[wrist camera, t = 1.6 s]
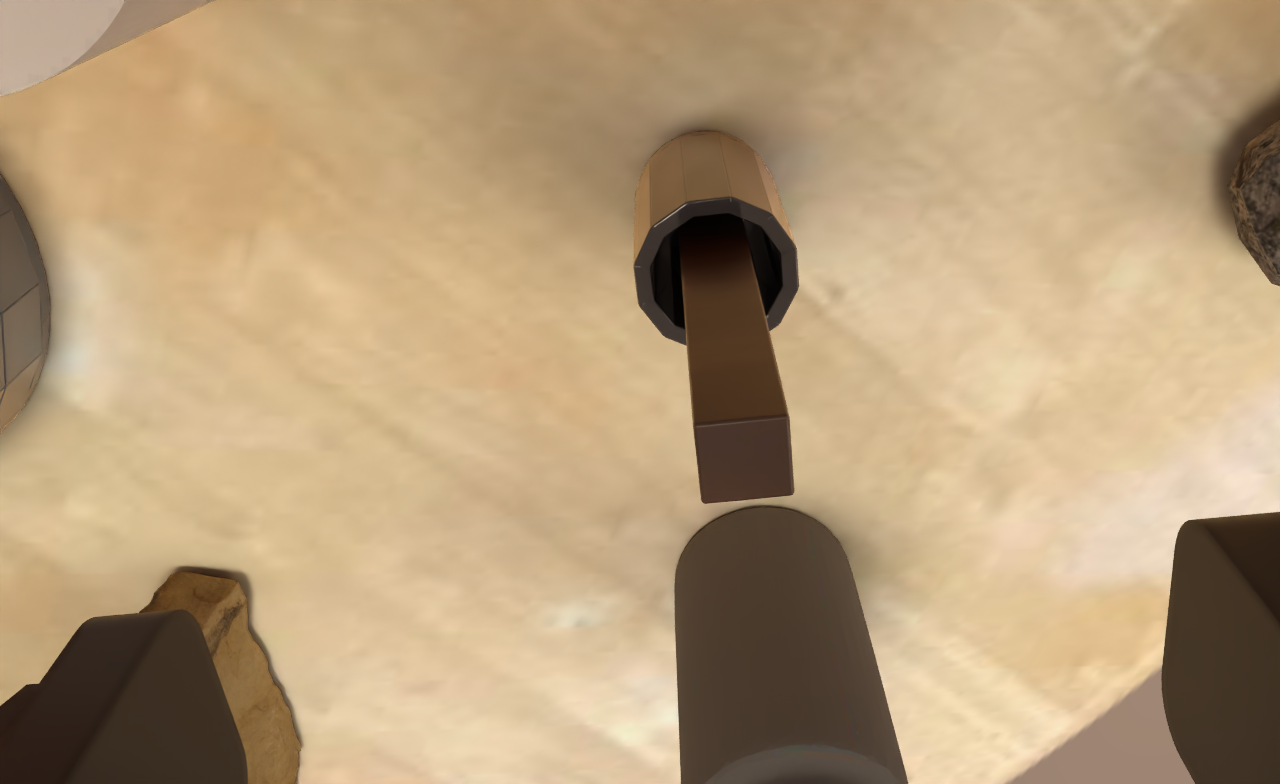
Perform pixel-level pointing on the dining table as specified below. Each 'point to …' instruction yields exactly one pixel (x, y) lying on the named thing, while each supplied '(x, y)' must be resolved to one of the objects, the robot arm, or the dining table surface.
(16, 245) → the bowl
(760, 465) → the stick
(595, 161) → the dining table surface
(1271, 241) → the decorative stone
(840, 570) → the bottle
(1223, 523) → the robot arm
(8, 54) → the cup
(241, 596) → the rock
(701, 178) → the holder
